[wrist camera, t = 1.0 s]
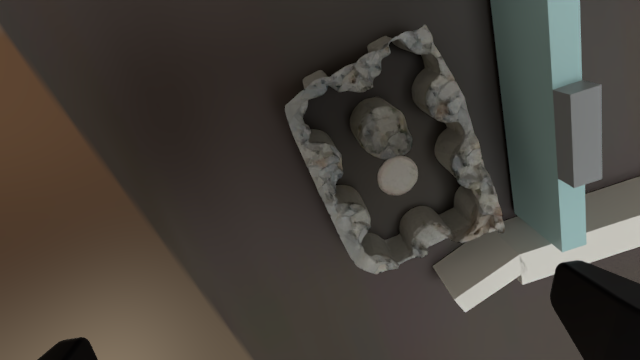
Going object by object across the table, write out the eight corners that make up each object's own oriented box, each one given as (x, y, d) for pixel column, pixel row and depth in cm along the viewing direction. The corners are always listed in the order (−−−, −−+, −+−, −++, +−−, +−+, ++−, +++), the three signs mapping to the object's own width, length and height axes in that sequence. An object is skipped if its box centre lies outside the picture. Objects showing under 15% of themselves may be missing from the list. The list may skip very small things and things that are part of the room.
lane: (435, 280, 24) (485, 360, 19) (359, -53, 17) (404, -84, 11) (749, 177, 24) (892, 227, 19) (811, -205, 17) (1080, -311, 11)
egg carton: (473, 201, 23) (514, 240, 19) (351, 253, 23) (368, 301, 19) (420, 14, 18) (459, 16, 15) (271, 82, 19) (272, 100, 15)
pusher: (514, 213, 23) (577, 264, 18) (488, -14, 18) (565, -22, 13) (534, 206, 23) (602, 256, 18) (514, -23, 18) (600, -34, 13)
